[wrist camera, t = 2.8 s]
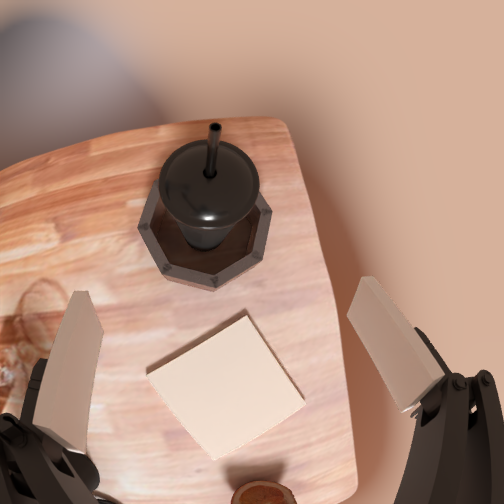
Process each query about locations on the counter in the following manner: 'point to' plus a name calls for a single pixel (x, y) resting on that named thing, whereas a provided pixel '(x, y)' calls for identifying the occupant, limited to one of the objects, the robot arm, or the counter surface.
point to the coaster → (227, 389)
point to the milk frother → (85, 471)
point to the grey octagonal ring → (254, 255)
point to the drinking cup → (208, 189)
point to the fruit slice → (263, 494)
